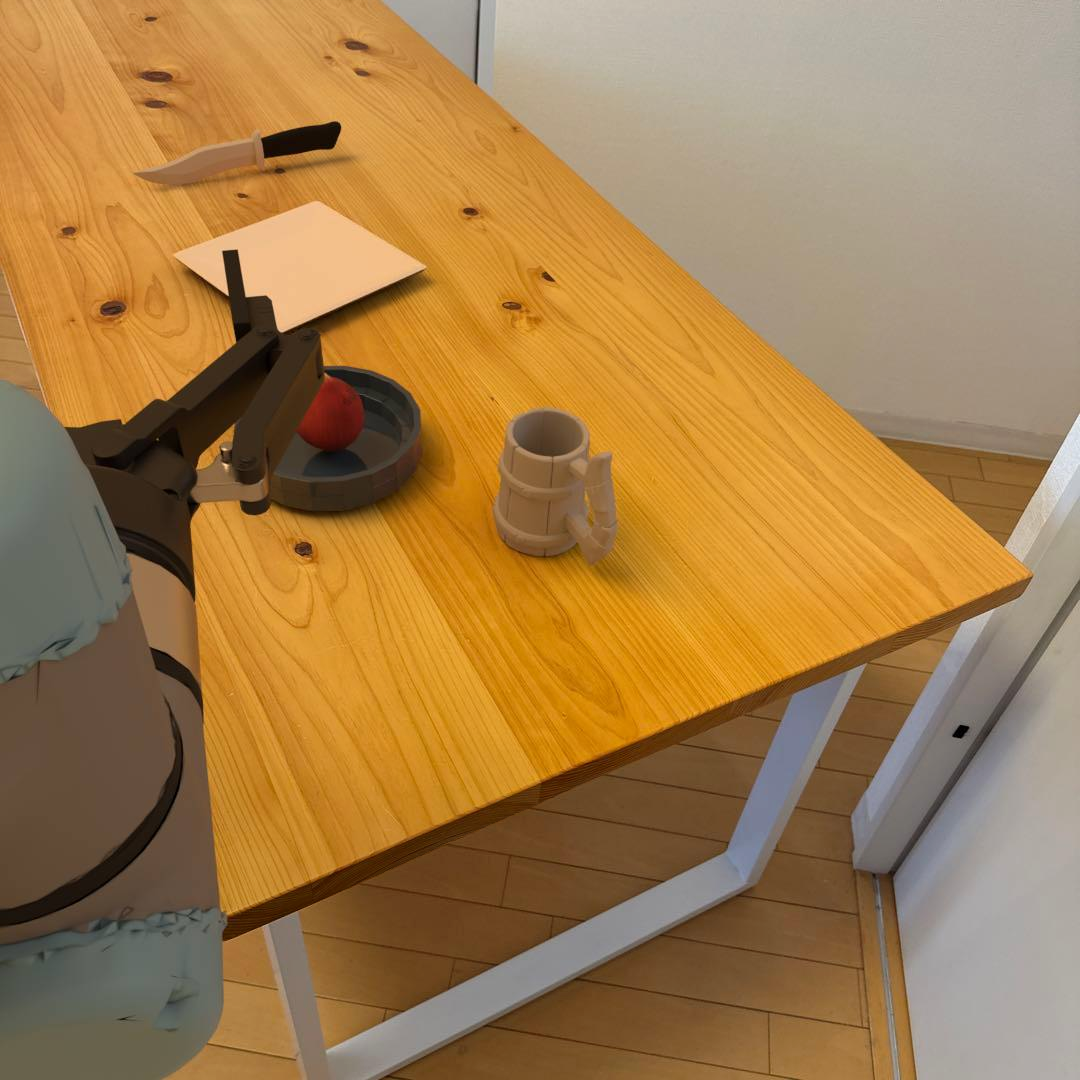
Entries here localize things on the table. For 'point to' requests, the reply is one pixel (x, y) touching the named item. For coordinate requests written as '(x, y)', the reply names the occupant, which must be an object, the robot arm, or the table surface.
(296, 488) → the bowl
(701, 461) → the table surface
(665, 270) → the table surface
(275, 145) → the knife
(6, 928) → the robot arm
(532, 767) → the table surface
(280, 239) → the plate
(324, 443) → the onion
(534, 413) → the mug
